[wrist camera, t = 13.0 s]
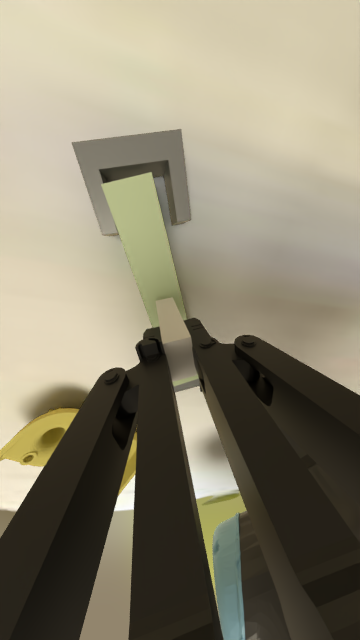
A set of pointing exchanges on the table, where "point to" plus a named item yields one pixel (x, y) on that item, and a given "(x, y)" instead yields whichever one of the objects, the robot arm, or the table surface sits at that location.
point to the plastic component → (52, 442)
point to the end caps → (131, 160)
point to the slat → (145, 243)
